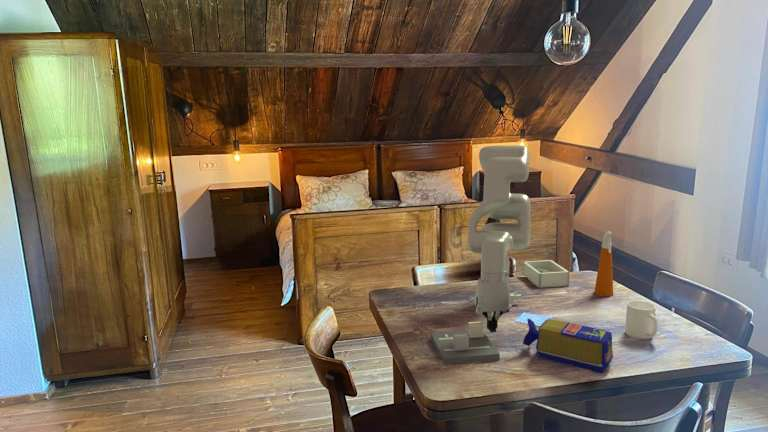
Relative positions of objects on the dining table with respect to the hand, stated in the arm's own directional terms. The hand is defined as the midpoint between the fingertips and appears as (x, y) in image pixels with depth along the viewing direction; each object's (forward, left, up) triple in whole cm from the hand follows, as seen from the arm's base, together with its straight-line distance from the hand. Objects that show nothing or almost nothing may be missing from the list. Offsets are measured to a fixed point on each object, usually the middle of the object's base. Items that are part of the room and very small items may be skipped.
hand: (492, 330), depth 171 cm
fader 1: (+12, +8, -1) cm, 15 cm away
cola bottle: (-24, -71, -4) cm, 75 cm away
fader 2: (+5, 0, -1) cm, 6 cm away
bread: (-18, +15, -4) cm, 24 cm away
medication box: (-43, -56, -4) cm, 71 cm away
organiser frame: (-42, -55, -4) cm, 69 cm away
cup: (-49, +5, -4) cm, 49 cm away
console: (+10, +4, -4) cm, 12 cm away
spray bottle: (-57, -33, -4) cm, 66 cm away
